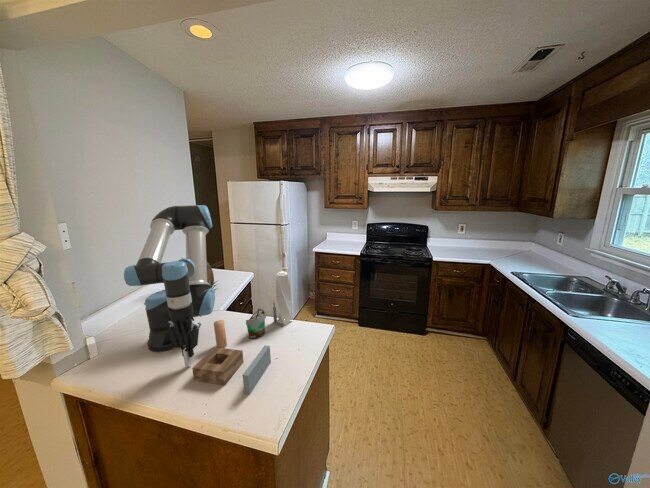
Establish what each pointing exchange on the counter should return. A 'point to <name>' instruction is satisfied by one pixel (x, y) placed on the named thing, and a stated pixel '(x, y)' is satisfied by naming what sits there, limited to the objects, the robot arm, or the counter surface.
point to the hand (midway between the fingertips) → (189, 363)
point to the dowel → (220, 334)
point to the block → (218, 366)
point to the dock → (256, 369)
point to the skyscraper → (282, 298)
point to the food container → (256, 324)
